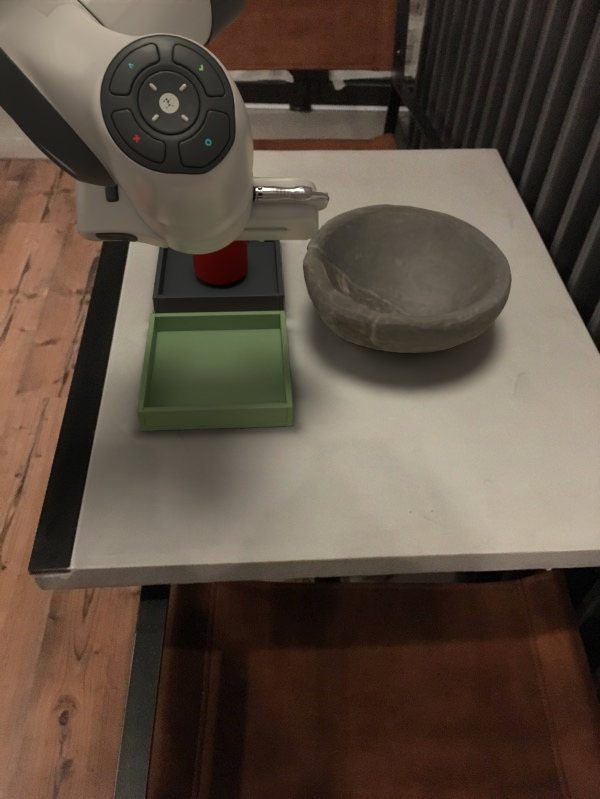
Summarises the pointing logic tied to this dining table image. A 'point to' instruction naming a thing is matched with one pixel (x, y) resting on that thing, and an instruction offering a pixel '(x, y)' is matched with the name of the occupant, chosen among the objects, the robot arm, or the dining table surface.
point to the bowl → (405, 278)
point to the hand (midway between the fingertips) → (206, 233)
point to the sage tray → (215, 371)
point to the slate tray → (193, 295)
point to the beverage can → (223, 264)
